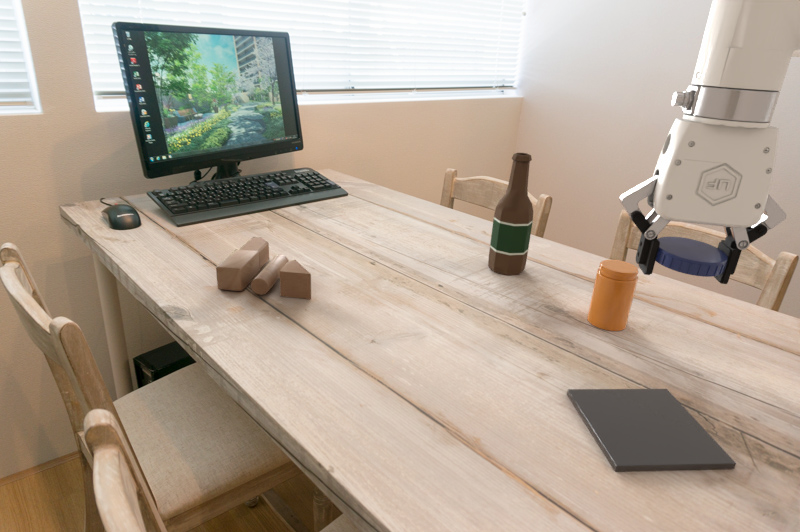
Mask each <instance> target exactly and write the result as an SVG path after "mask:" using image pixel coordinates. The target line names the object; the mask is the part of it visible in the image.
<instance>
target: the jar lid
mask: <svg viewBox="0 0 800 532" xmlns="http://www.w3.org/2000/svg"><path fill="white" fill-rule="evenodd" d="M657 239H658V240H659V242H660V246H659V249H658V253H657V256H656V259H655V263H658V264H659V265H661V266H663V267H664V268H667V269H669V270H672V271H675V272H678V273H681V274H685V275H689V276H694V277H695V276H696V277H706V278H707V277H708V278H710V277H711V278H712V277H714V276H718V275H721V274H722V272H724V270H725V267H726V264H727V259H728V256H727V255H726V254H725V253H724V252H723V251H722V250H720V249H718V247H717V246H714V245H712V244H709V243H707V242H704V241H702V240H701V241H700V240H698V239H697V240H696V239H693V238H687V237H682V236H681V237H680V236H662V237H657Z"/></svg>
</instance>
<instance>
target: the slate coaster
mask: <svg viewBox="0 0 800 532" xmlns="http://www.w3.org/2000/svg"><path fill="white" fill-rule="evenodd" d="M566 390H567V391H566V396H568V398H569V400H570V402H571V403H572V405H573V407H574V408H575V410H576V411H577V413H578V415H579V416H580V418H581V419H582V421H583V422H584V424H585V426H586V427H587V429H588V430H589V432H590V434H591V435H592V437H593V438H594V440H595V442H596V443H597V445H598V447H599V448H600V450H601V451H602V453H603V454H604V456H605V458H606V460H607V461H608V463H609V464H610V466H611V468H612V469H613V470H614V472H646V471H647V472H648V471H649V472H651V471H652V472H653V471H654V472H655V471H693V470H694V471H695V470H696V471H697V470H699V471H700V470H734V469H735V468H736V465H737V463H736V461H735V460H734V459H733V458H732V457H731V456H730V455H729V453H727V451H726V450H725V449H723V447H722V446H721V445H720V444H719V443H718V442H717V441H716V440H715V438H713V436H712V435H711V434H710V433H709V432H708V431H707V430H706V429H705V428H704V427H703V426H702V425H701V424H700V423H699V421H698V420H696V418H694V416H693V415H692V414H691V413H690V412H689V411H688V410H687V409H686V408H685V407H684V405H683V404H682V403H681V402H680V401H679V400H678V399H677V398H676V397H675V396H674V395H673V394H672V392H671V391H670V390H669V389H668V388H582V389H581V388H577V389H576V388H571V389H570V388H569V389H566Z"/></svg>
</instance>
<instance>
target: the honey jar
mask: <svg viewBox="0 0 800 532" xmlns="http://www.w3.org/2000/svg"><path fill="white" fill-rule="evenodd" d="M598 267H599V268H597V270H596V274H595V278H594V283H593V287H592V293H591V297H590V303H589V307H588V310H587V311H588V312H587V316H586V320H587V321H588V323H589V324H590V325H592V326H594V327H595V328H598V329H601V330H604V331H610V332H620V331H623V330H625V329H626V328H627V325H628V321H629V317H630V313H631V309H632V306H633V301H634V296H635V294H636V289H637V285H638V280H639V277H638V275H639V268H638V267H637V266H636V265H635V264H632V263H631V262H627V261H623V260H620V259H619V260H618V259H605V260H601V261H600V262H599V266H598Z"/></svg>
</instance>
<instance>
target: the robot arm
mask: <svg viewBox="0 0 800 532" xmlns="http://www.w3.org/2000/svg"><path fill="white" fill-rule="evenodd" d="M710 5H711V6H710V9H709V13H708V16H707V21H706V25H705V29H704V32H703V36H702V41H701V44H700V48H699V52H698V57H697V60H696V64H695V68H694V72H693V76H692V79H691V85H688V87H687V89H686V90H683V91H675V92H673V94H672V97H671V98H672V99H671V106H672V107H679V108H681V111H682V113H683V115H682V117H676V118H675V120H674V122H673V123H672V125H671V128H670V130H669V131H668V134H667V137H666V139H665V141H664V143H663V146H662V148H661V150H660V154H659V155H658V159H657V163H656V165H655V168H654V171H653V174H652V177H650V178H648V179H646V180H644V181H643V182H641V183H639V184H637V185H636V186H633V187H632V188H630V189H629V190H627V191H626V192H624V193H622V194H621V195H620V196H619V197H618V198H619V199H618V200H619V202H620V204H621V206H622V207H623V209H624V210H625V212H626V214H627V215H628V217H629V218H630V220H631V222H633V223H634V225H635V226H636V227H637V229H638V230H639V231H640V233H641V234H640V238H639V242H638V246H637V250H636V254H635V263H636V264H637V265H638V267H639V269H640V270H641V272H642V273H643V275H646V276H650V275H652V274H653V272H654V268H655V264H656V261H655V259H656V256H657V253H658V249H659V246H660V242H659V240H658V238H659V234H660V233H661V232H662V231H663V230H664V229H665V228H666V226H668V224H669V223H670V222H680V223H687V224H697V225H704V226H705V225H706V226H707V225H708V226H716V227H723V229H724V234H725V236H726V237H725V238H724V239H721V241H719V243H718V245H717V248H718V249H720V250H722V251H723V252H724V253H725V254H726V255H727V256H728V259H727V264H726V267H725V270H724V272H722V274H721V275H718V276H713V278H714V279H715V280H716V281H717V282H719V283H720V284H722V285H728V284H729V280H730V277H731V276H733V275H734V274H735V272H736V269H737V266H738V263H739V261H740V258H741V254H742V251H744V250H747V249H748V248H749V247H750V245H751V244H752V243H754V242H755V241H757V240H759V239H761V238H762V237H763V236H765V235H766V234H767V233H768V231H769V230H772V229H773V228H775V227H776V226H778V225H780V224H781V223H782V222H783V221H785V220H786V219H787V213H786V212H785V211H784V210H783V209H782V208H781V206H780V205H779V204H778V203H777V202H776V201H775V200H774V198H773V197H772V196H771V195H770V189H771V185H772V182H773V176H774V173H775V172H774V171H775V166H776V161H777V154H778V146H779V145H778V144H779V135H780V134H779V132H780V128H779V127H776V126H771V122H772V119H773V116H774V113H775V110H776V106H777V104H778V100H779V98H780V93H781V90H782V88H783V84H784V81H785V78H786V75H787V73H788V68H789V65H790V63H791V59H792V58H800V0H712V1H711V4H710ZM645 198H647V199H646V201H647V202H646V203H647V205H648V206H649V207H650V208H652V209H651V210H650V212H649V213H648V214H647V215H646V216H645V214H643V212H642V210H641V209H640V208H639V202H640V201H642V200H644V199H645Z"/></svg>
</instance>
